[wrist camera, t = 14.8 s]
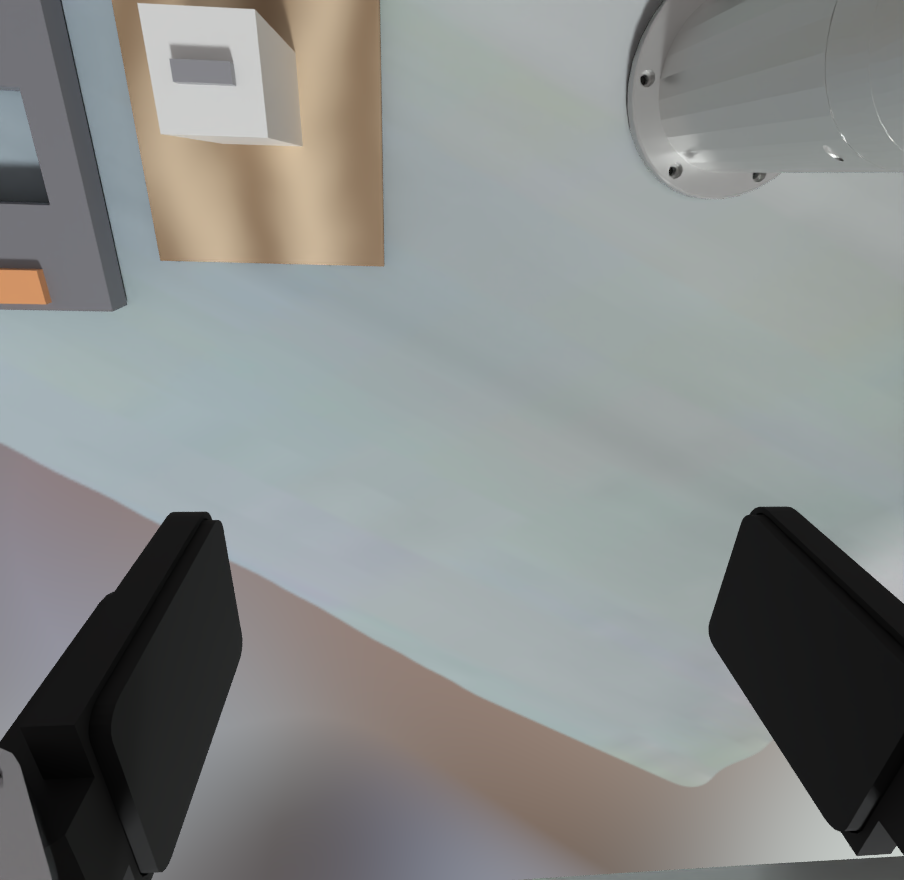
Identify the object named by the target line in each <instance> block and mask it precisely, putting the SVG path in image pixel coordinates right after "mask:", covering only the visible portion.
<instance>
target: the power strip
mask: <svg viewBox="0 0 904 880" xmlns="http://www.w3.org/2000/svg"><path fill="white" fill-rule="evenodd" d="M0 90H8V91H20V92H21V96H22V99H23V103H24V107H25V111H26V115H27V119H28V122H29V126H30V130H31V134H32V138H33V142H34V145H35V149H36V153H37V157H38V161H39V165H40V168H41V172H42V176H43V180H44V184H45V188H46V191H47V195H48V199H49V203H37V202H7V201H0V309H4V310H58V311H111V312H113V311H115V310H117V309H119V308H121V307H123V306H125V305H127V302H126V297H125V292H124V288H123V283H122V279H121V274H120V270H119V265H118V261H117V256H116V252H115V247H114V243H113V238H112V233H111V229H110V224H109V220H108V215H107V211H106V206H105V202H104V197H103V193H102V188H101V184H100V179H99V174H98V170H97V165H96V161H95V156H94V152H93V147H92V143H91V138H90V134H89V129H88V125H87V120H86V115H85V111H84V106H83V102H82V97H81V93H80V88H79V84H78V79H77V75H76V70H75V66H74V61H73V56H72V52H71V47H70V43H69V38H68V34H67V29H66V25H65V20H64V16H63V11H62V7H61V2H60V0H0Z"/></svg>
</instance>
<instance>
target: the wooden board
mask: <svg viewBox="0 0 904 880" xmlns="http://www.w3.org/2000/svg"><path fill="white" fill-rule="evenodd" d="M137 3H147V4H166V5H184V6H203V7H222V8H241V9H255V10H256V11H257V12H258V13H259V14H260V15H261V16H262V17H263V19H264V20H265V21H266V22H267V23H268V24H269V25H270V26H271V27H272V28H273V29H274V30H275V31H276V32H277V34H278V35H279V36H280V37H281V38H282V39H283V40H284V41H285V42H286V43H287V44H288V45H289V46H290V47H291V48H292V50H293V51H294V52H295V54H296V67H297V79H298V92H299V104H300V117H301V129H302V142H303V147H301V146H272V145H243V144H221V143H215V142H208V141H202V140H195V139H189V138H183V137H176V136H170V135H164V134H161V133H160V128H159V122H158V117H157V111H156V105H155V100H154V94H153V88H152V83H151V77H150V72H149V66H148V60H147V55H146V49H145V44H144V38H143V32H142V27H141V21H140V15H139V10H138V4H137ZM112 5H113V10H114V15H115V21H116V26H117V31H118V37H119V42H120V47H121V53H122V58H123V63H124V69H125V74H126V79H127V85H128V90H129V95H130V101H131V106H132V111H133V117H134V122H135V127H136V133H137V138H138V143H139V149H140V154H141V159H142V165H143V170H144V175H145V181H146V186H147V191H148V197H149V202H150V207H151V213H152V218H153V223H154V229H155V234H156V239H157V245H158V250H159V255H160V261H198V262H236V263H274V264H313V265H351V266H384V214H383V155H382V97H381V39H380V0H112Z"/></svg>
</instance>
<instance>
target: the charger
mask: <svg viewBox="0 0 904 880" xmlns="http://www.w3.org/2000/svg"><path fill="white" fill-rule="evenodd" d="M137 4H138V10H139V15H140V21H141V27H142V32H143V38H144V44H145V49H146V55H147V60H148V66H149V72H150V77H151V83H152V88H153V94H154V100H155V105H156V111H157V117H158V122H159V128H160V133H161V134H164V135H170V136H176V137H183V138H189V139H195V140H202V141H208V142H215V143H221V144H243V145H272V146H301V147H303V142H302V129H301V117H300V104H299V92H298V79H297V67H296V54H295V52H294V51H293V50H292V48H291V47H290V46H289V45H288V44H287V43H286V42H285V41H284V40H283V39H282V38H281V37H280V36H279V35H278V34H277V32H276V31H275V30H274V29H273V28H272V27H271V26H270V25H269V24H268V23H267V22H266V21H265V20H264V19H263V17H262V16H261V15H260V14H259V13H258V12H257V11H256V10H255V9H241V8H222V7H203V6H184V5H166V4H147V3H137Z"/></svg>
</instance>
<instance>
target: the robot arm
mask: <svg viewBox="0 0 904 880" xmlns="http://www.w3.org/2000/svg"><path fill="white" fill-rule="evenodd" d="M641 76H644V77H645V79H646V81H645V84H644V85H642V84H641V82H640V77H641ZM627 110H628V117H629V125H630V131H631V134H632V137H633V140H634V143H635V147H636V150H637V151H638V153H639V155H640V157H641V159H642V160H643V162H644V164H645V166H646V167H647V168H648V169H649V170H650V172H651V173H652V174H653V175H654V176H655V177H656V178H657V179H658V180H659V181H660V182H662V183H663V184H664V185H666V186H667V187H669V188H670V189H671V190H673V191H676V192H678V193H681V194H683V195H686V196H689V197H696V198H702V199H724V198H730V197H736V196H740V195H743V194H745V193H748V192H751V191H753V190H756V189H758V188H760V187H761V186H763V185H765V184H766V183H768V182H770V181H771V180H773V179H775V178H776V177H777V176H778V175H780V174H781V173H865V172H904V0H664V1H663V3H662V4H661V5H660V7H659V8H658V9H657V11H656V12H655V13H654V15H653V16H652V18H651V20H650V22H649V24H648V26H647V28H646V29H645V31H644V33H643V35H642V37H641V39H640V42H639V45H638V48H637V51H636V54H635V56H634V59H633V62H632V68H631V73H630V78H629V84H628V104H627ZM670 167H672V168H673V172H672V174H671V175H669V169H670ZM753 173H755V175H754V177H753ZM709 637H710V640H711V642H712V644H713V646H714V648H715V649H716V651H717V652H718V654H719V655H720V657H721V659H722V660H723V662H724V663H725V665H726V666H727V668H728V669H729V671H730V673H731V674H732V676H733V677H734V679H735V680H736V682H737V683H738V685H739V686H740V688H741V690H742V691H743V693H744V694H745V696H746V697H747V699H748V700H749V702H750V703H751V705H752V707H753V708H754V710H755V711H756V713H757V714H758V716H759V717H760V719H761V721H762V722H763V724H764V725H765V727H766V728H767V730H768V731H769V733H770V734H771V736H772V738H773V739H774V741H775V742H776V744H777V745H778V747H779V748H780V750H781V752H782V753H783V755H784V756H785V758H786V759H787V761H788V762H789V764H790V765H791V767H792V769H793V770H794V771H795V773H796V774H797V776H798V778H799V779H800V781H801V782H802V784H803V786H804V787H805V789H806V790H807V792H808V793H809V795H810V796H811V798H812V800H813V801H814V803H815V804H816V806H817V807H818V809H819V810H820V812H821V813H822V815H823V817H824V818H825V819H826V821H827V822H828V823H829V825H831V826H832V827H833V828H834V829H835V830H838V831H841V833H842V834H843V836H844V837H845V839H846V840H847V842H848V843H849V845H850V846H851V848H852V850H853V851H854V852H855V854H856V855H857V856H862V855H879V854H891V853H892V851H893V850H894V848H895V847H896V846H898V848H899V849H900V850H901V852H902V853H903V855H904V604H903V603H902V602H901V601H900V600H899V599H898V598H896V597H895V596H894V595H893V594H892V593H891V592H889V591H888V590H887V589H886V588H885V587H884V586H883V585H881V584H880V583H879V582H878V581H877V580H876V579H875V578H873V577H872V576H871V575H870V574H869V573H868V572H866V571H865V570H864V569H863V568H862V567H861V566H860V565H858V564H857V563H856V562H855V561H854V560H853V559H852V558H850V557H849V556H848V555H847V554H846V553H845V552H843V551H842V550H841V549H840V548H839V547H838V546H837V545H835V544H834V543H833V542H832V541H831V540H830V539H829V538H827V537H826V536H825V535H824V534H823V533H822V532H820V531H819V530H818V529H817V528H816V527H815V526H814V525H812V524H811V523H810V522H809V521H808V520H807V519H806V518H804V517H803V516H802V515H801V514H800V513H799V512H797V511H796V510H795V509H793V508H791V507H757V508H755V509H754V510H753V511H752V512H751V513H750V515H747V516H745V517H744V518H743V520H742V522H741V525H740V528H739V532H738V535H737V538H736V541H735V544H734V547H733V550H732V554H731V557H730V560H729V563H728V566H727V569H726V572H725V575H724V579H723V582H722V585H721V588H720V591H719V594H718V597H717V601H716V604H715V607H714V610H713V613H712V616H711V619H710V622H709ZM241 651H242V633H241V627H240V622H239V616H238V610H237V605H236V599H235V593H234V587H233V582H232V576H231V570H230V564H229V559H228V553H227V547H226V541H225V536H224V530H223V526H222V523H221V521H219V520H212V518H211V516H210V514H209V513H208V512H172V513H170V514H169V515H168V516H167V517H166V519H165V520H164V522H163V523H162V525H161V526H160V527H159V529H158V530H157V532H156V533H155V535H154V536H153V537H152V539H151V540H150V542H149V543H148V545H147V546H146V547H145V549H144V550H143V552H142V553H141V555H140V556H139V557H138V559H137V560H136V562H135V563H134V564H133V566H132V567H131V569H130V570H129V572H128V573H127V574H126V576H125V577H124V579H123V580H122V582H121V583H120V585H119V586H118V587H117V589H116V590H115V592H112V593H110V594H108V595H106V597H105V598H104V599H103V600H102V601H101V602H100V603H99V604H98V606H97V607H96V609H95V610H94V611H93V613H92V614H91V616H90V617H89V618H88V620H87V621H86V623H85V624H84V625H83V627H82V628H81V630H80V631H79V632H78V634H77V635H76V637H75V638H74V639H73V641H72V642H71V644H70V645H69V646H68V648H67V649H66V650H65V652H64V653H63V655H62V656H61V657H60V659H59V660H58V662H57V663H56V664H55V666H54V667H53V669H52V670H51V671H50V673H49V674H48V676H47V677H46V678H45V680H44V681H43V683H42V684H41V686H40V687H39V688H38V690H37V691H36V692H35V694H34V695H33V696H32V698H31V699H30V701H29V702H28V703H27V705H26V706H25V708H24V709H23V711H22V712H21V713H20V715H19V716H18V717H17V719H16V720H15V722H14V723H13V725H12V726H11V727H10V729H9V730H8V731H7V733H6V734H5V736H4V737H3V739H2V740H1V741H0V880H151V879H152V876H153V874H154V872H163V871H164V870H165V869H166V867H167V866H168V864H169V861H170V859H171V857H172V854H173V851H174V848H175V845H176V842H177V839H178V837H179V834H180V831H181V828H182V825H183V822H184V819H185V816H186V814H187V811H188V808H189V805H190V802H191V799H192V796H193V793H194V790H195V787H196V784H197V782H198V779H199V776H200V773H201V770H202V767H203V764H204V761H205V759H206V756H207V753H208V750H209V747H210V744H211V741H212V738H213V735H214V733H215V730H216V727H217V724H218V721H219V718H220V715H221V712H222V709H223V706H224V704H225V701H226V698H227V695H228V692H229V689H230V686H231V683H232V680H233V677H234V675H235V672H236V669H237V666H238V663H239V660H240V656H241ZM525 880H904V856H899V857H882V858H865V859H847V860H830V861H812V862H795V863H778V864H762V865H745V866H729V867H712V868H696V869H681V870H664V871H649V872H634V873H617V874H603V875H587V876H572V877H556V878H540V879H525Z"/></svg>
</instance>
